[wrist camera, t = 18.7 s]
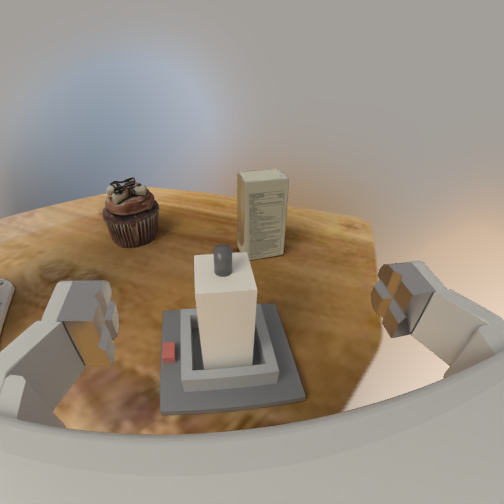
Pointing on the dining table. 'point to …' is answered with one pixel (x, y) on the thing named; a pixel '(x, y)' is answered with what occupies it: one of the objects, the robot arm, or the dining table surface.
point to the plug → (225, 308)
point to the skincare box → (262, 212)
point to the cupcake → (130, 214)
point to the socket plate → (225, 369)
